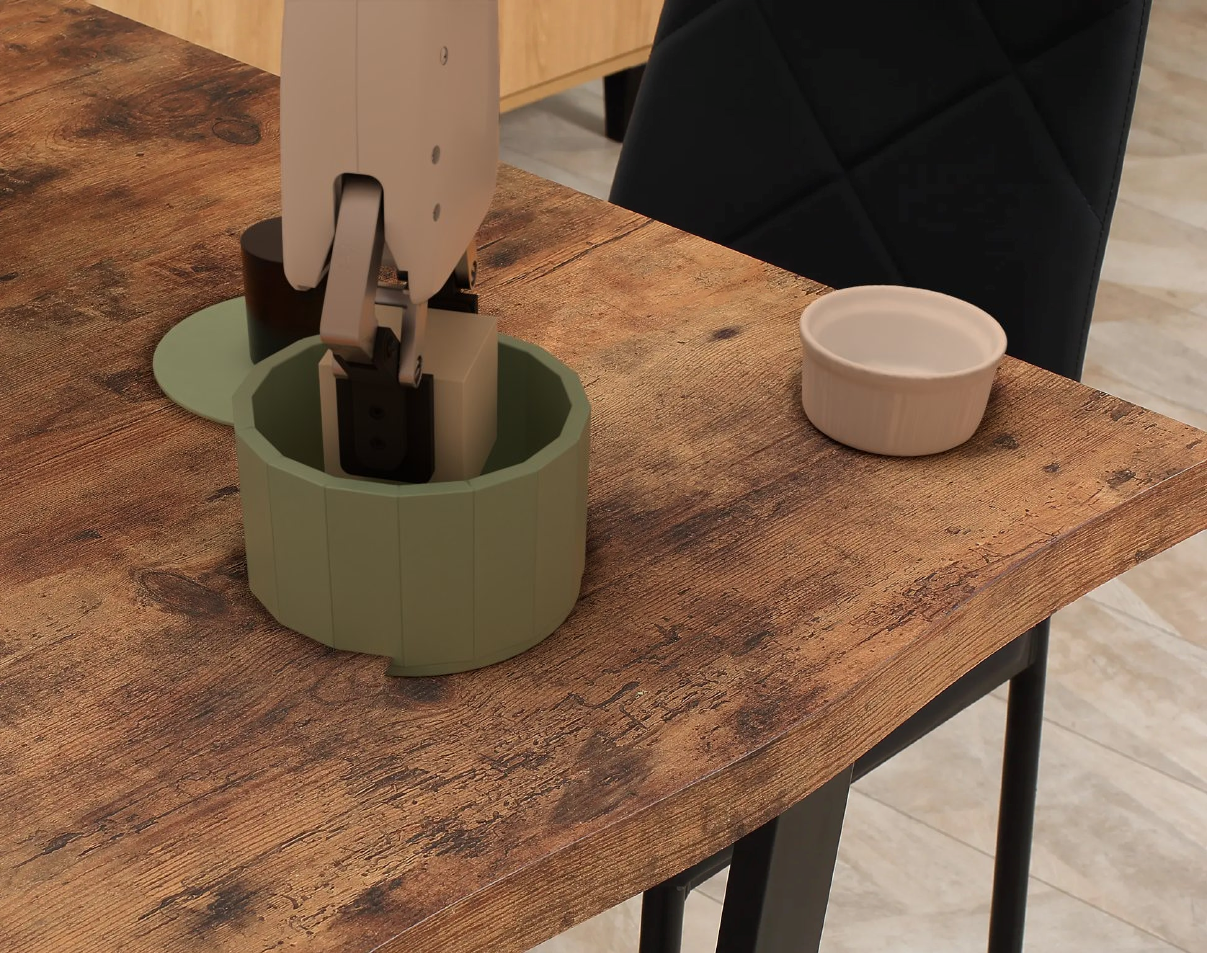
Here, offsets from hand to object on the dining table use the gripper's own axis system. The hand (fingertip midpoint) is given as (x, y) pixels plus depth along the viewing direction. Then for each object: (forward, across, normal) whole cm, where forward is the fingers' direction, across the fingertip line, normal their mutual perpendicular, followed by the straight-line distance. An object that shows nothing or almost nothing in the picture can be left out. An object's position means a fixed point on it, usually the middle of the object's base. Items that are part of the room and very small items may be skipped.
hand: (411, 427), depth 61 cm
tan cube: (+2, 0, 0) cm, 2 cm away
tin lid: (+6, -14, -9) cm, 18 cm away
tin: (+6, 0, 0) cm, 6 cm away
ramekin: (+7, -17, +17) cm, 25 cm away
